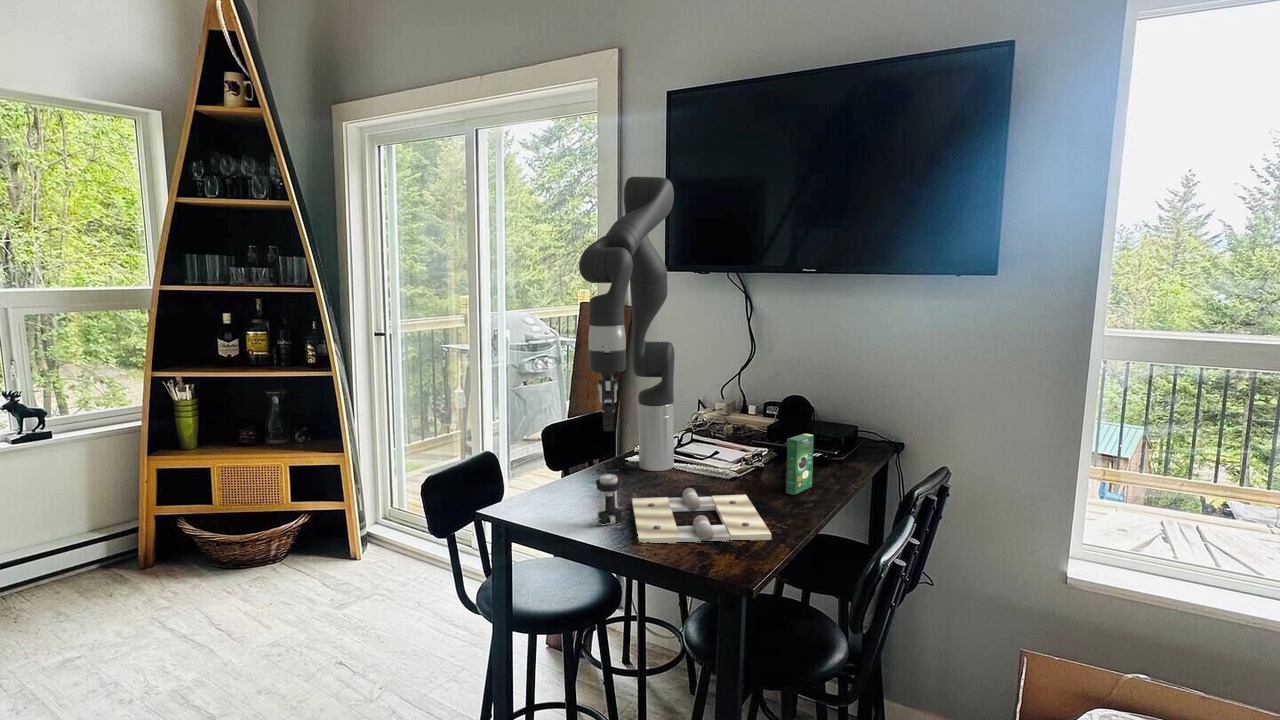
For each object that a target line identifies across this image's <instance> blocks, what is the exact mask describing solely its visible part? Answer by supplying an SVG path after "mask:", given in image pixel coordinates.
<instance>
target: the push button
mask: <svg viewBox="0 0 1280 720" xmlns="http://www.w3.org/2000/svg"><path fill="white" fill-rule="evenodd" d="M621 484H622V479H620V478H618V475H617V474H613V473H611V474H610V473H606V474H602V475H600V476H599V478H598V479H596V480H595V485H596V489H597V490H598V491H599V492H600V509H599V511H597V517H596V518H594V519H592V521H593V522H594V523H592V525H593V526H596V525H597V524H598V525H600V524H606V523H610V522H611V523H612V522H613V523H615V521H621V522H622V520H623V518H622V515H623V514H622V513H623V511H622V509H619V505H618V491H619V490H621ZM596 521H597V522H596ZM615 524H616V523H615Z"/></svg>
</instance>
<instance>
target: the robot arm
mask: <svg viewBox="0 0 1280 720" xmlns="http://www.w3.org/2000/svg"><path fill="white" fill-rule="evenodd" d="M674 198H675V191H674V186H673V184H672V182H671V180H670V179H668V178H666V177H659V176H630V177H628V178H627V179H626V182H625V185H624V189H623V205H624V215H622V216H621V217H620V218H618V219H617V220H616V221H615V222H614V223H613V224H612V226H611V227H610V228H609V230H608V231H607V233H606V234H605V235H603V236H602V237H600V238H598V239H597V240H596V241H593V242H592V243H591V244H590V245H589V246H587V247H586V248H585V249H584V250H583V252H582V253H581V255H580V258H579V261H578V269H579V274H580V276H581V277H582V279H584V280H585V281H586V282H588V283H591V284H610V287H609V289H608V291H607V292H606V293H604V294H603V293H602V294H599V295H594V296H592V297H591V298H590V300H589V303H588V309H589V313H588V315H589V318H588V319H589V320H588V321H589V326H588V327H589V328H588V329H589V330H588V370H589V371H590V372H593V373H600V376H601V378H597V390H598V392H599V395H598V396H599V403H601V412H602V430H603V431H604V432H612V431H614V430H615V411H616V405H615V403H616V402H617V399H618V398H617V394H618V393H617V390H618V383H619V381H618V378H614V374H615V373H620V372H624V371H626V369H627V346H626V345H627V340H626V339H627V338H626V330H625V304H626V303H625V302H626V297H627V292H628V288H629V290H630V302H631V303H630V304H631V316H632V317H631V318H632V341H631V343H632V344H631V345H632V346H631V347H632V352H631V354H632V356H631V358H632V359H631V360H632V362H631V364H632V369H633V373H634V374H635V376H637V377H639V378H661V381H660V382H658V383H657V384H655V385H653V386H651V387H649V388H644V389H642V390H641V391H639V392H638V400H637V401H638V466H639V468H640V469H642V470H644V471H650V472H651V471H652V472H662V471H669V470H671V469H673V468H674V466H675V461H674V460H675V456H674V455H675V441H674V440H675V438H674V437H675V429H674V428H675V426H674V425H675V421H674V419H675V412H674V411H675V410H674V409H675V407H674V402H675V401H674V399H675V398H674V379H675V378H674V374H675V360H676V359H675V358H676V356H675V355H676V354H675V348H674V345H673V344H672V342H670V341H646V340H645V338H646V334H647V332H648V331H649V330H648V329H649V327H650V326H651V324H652V321H653V320H654V319H655V317H656V315H658V313H659V311H660V309H662V307H663V305H664V303H665V301H666V300H667V298H668V297H667V296H668V291H669V290H668V270H667V266H666V264H665V262H664V260H663V258H662V257H661V255H660V254H659V252H658V251H657V249H656V248H655V246H654V245H653V243H652V242H651V239H650V238H649V236H648V234H649V233H650V232H651V231H653V230H654V229H655V228H656V227H657V226H658V225H659V224H660V223H661V222H663V221H664V220H665V219H666V218H667V217H668V215H669V214H670V213H671V211H672V208H673V205H674V201H675V200H674Z"/></svg>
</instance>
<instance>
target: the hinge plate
mask: <svg viewBox="0 0 1280 720" xmlns="http://www.w3.org/2000/svg"><path fill="white" fill-rule="evenodd" d="M681 495H682V496H681V497H668V496H665V497H664V496H663V497H661V496H659V497H633V498H631V504H632V510H633V516H634V517H635V518H634V523H636V524H635V528H636V529H637V530H636V535H637V534H638V536H637V540H639V542H643V543H646V542H650V543H662V542H663V543H668V544H677V543H676V542H695V543H702V542H701V541H722V542H733V541H732V540H750V541H770V540H771V541H772V533H771V530H770V529H769V528H768V526H767V524H766V523H765V522H764V520H763V519H762V517H761V516H760V514H759V512H758V511H757V509H756V507H755V506H754V505H753V503H752V501H751V500H750V499H749V497H748V496H747V494H729V495H728V494H723V495H722V494H721V495H711V496H699V495H698V494H697V491H696V490H695V489H694V488H691V487H686V488H685V489H684V490H683V491H682V494H681ZM698 511H699V512H703V511H705V512H706V511H716V513H717V515H718V517H719V520H720V521H721V524H712V525H711V523H710V520H709V519H708V517H707V516H706V515H701V514H700V515H696V517H695V518H693V521H692V525H682V526H681V525H678V526H677V523H676V520H675V518H674V513H675V512H698ZM673 512H674V513H673ZM729 540H731V541H729ZM698 541H699V542H698ZM639 542H638V543H639Z"/></svg>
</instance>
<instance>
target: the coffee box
mask: <svg viewBox="0 0 1280 720" xmlns="http://www.w3.org/2000/svg"><path fill="white" fill-rule="evenodd" d="M814 439H815V437H814V434H811V433H806V432H805V433H801V434H799V435H795V436H793V437H790V438H787V442H786V443H787V448H786V479H785V480H786V482H785V493H786V494H790V495H797V494H800V493H802V492H804V491H806V490H809V489H810V488H812V487H813V473H814V471H813V470H814V469H813V468H814V466H813V465H814Z"/></svg>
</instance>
